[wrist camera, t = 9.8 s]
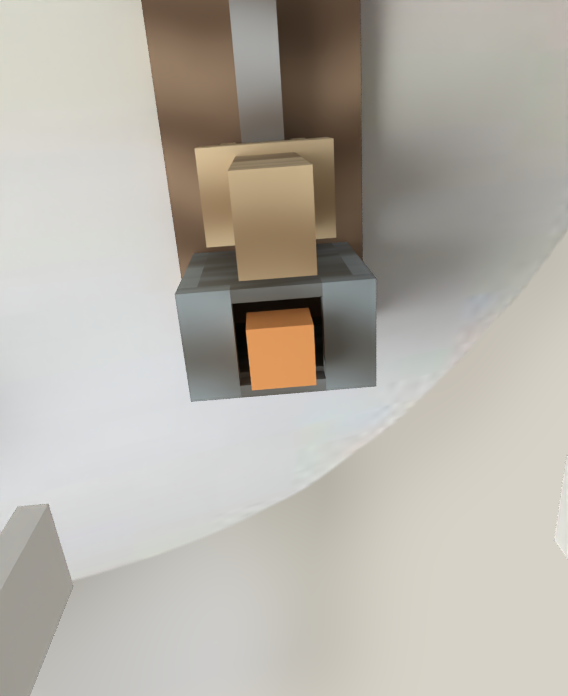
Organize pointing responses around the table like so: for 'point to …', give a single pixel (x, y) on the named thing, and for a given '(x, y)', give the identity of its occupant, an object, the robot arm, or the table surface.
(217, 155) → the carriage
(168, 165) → the rail track
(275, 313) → the button
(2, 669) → the robot arm
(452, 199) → the table surface
